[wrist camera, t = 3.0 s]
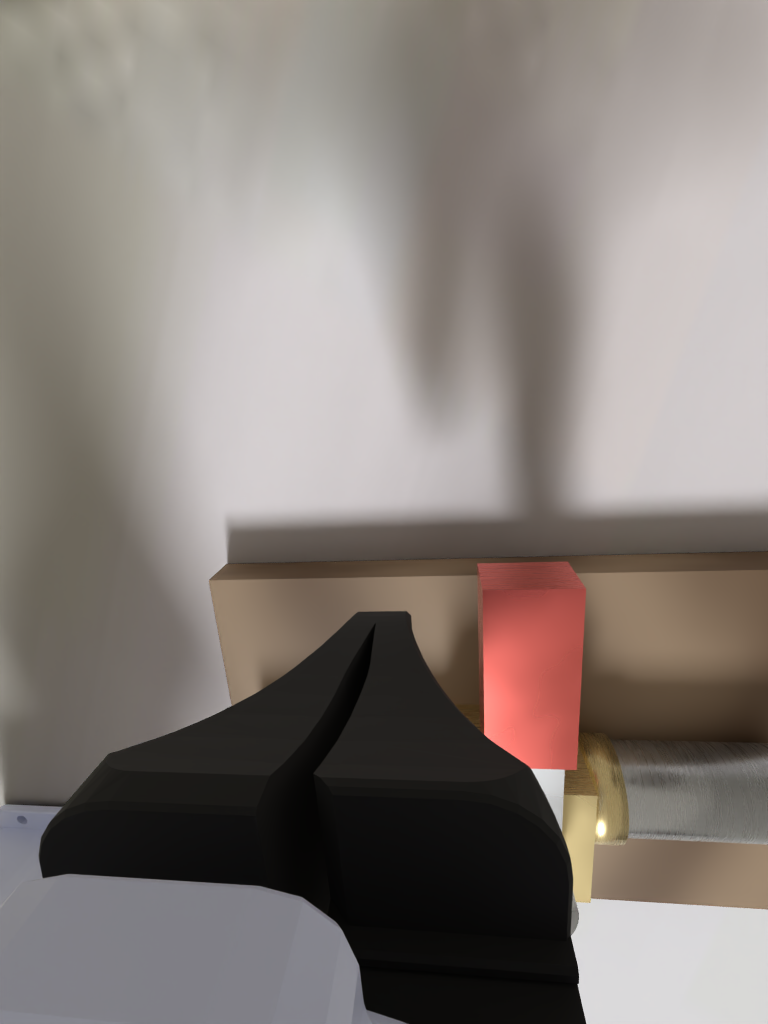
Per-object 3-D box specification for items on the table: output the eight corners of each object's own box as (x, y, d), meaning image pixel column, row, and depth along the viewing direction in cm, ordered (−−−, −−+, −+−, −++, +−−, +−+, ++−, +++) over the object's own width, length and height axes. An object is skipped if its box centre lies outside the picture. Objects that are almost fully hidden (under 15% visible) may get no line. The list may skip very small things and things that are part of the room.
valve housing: (272, 782, 19) (232, 880, 16) (258, 697, 18) (211, 782, 14) (755, 799, 17) (844, 918, 13) (772, 704, 16) (874, 806, 12)
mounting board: (275, 845, 22) (263, 878, 21) (226, 563, 18) (208, 580, 17) (744, 869, 20) (768, 909, 18) (803, 550, 16) (839, 568, 14)
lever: (562, 897, 14) (578, 963, 12) (471, 891, 14) (475, 955, 13) (579, 558, 11) (602, 588, 9) (463, 560, 11) (467, 590, 10)
